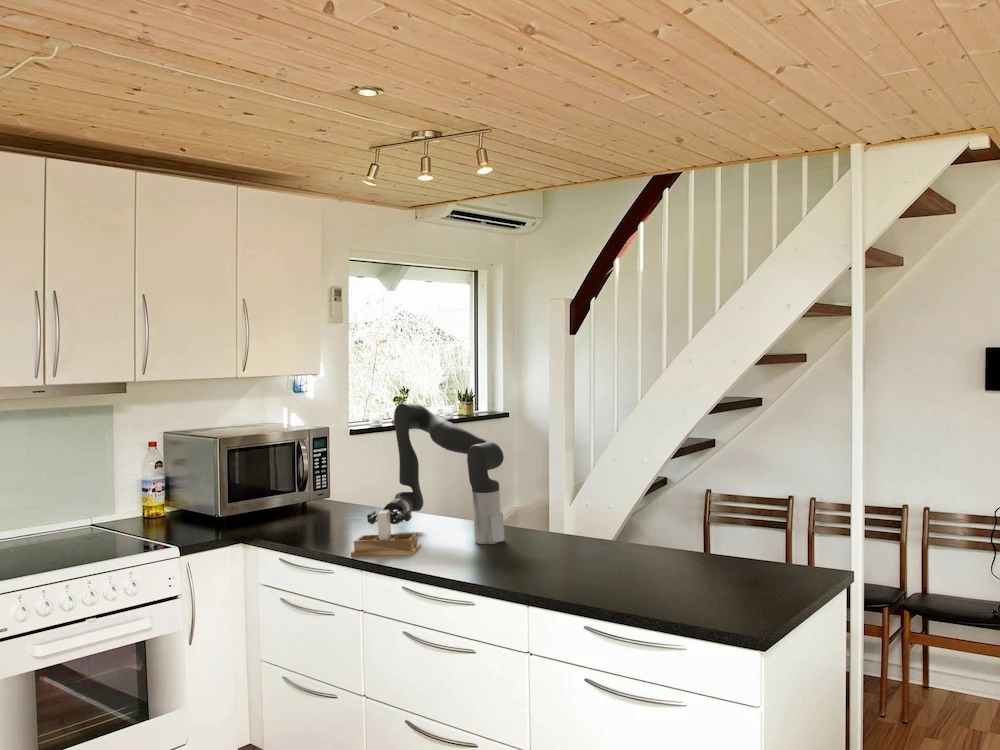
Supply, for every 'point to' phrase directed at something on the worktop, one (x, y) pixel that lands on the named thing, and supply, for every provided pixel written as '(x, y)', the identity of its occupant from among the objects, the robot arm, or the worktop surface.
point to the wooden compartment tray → (386, 545)
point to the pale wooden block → (384, 525)
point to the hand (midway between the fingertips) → (383, 521)
